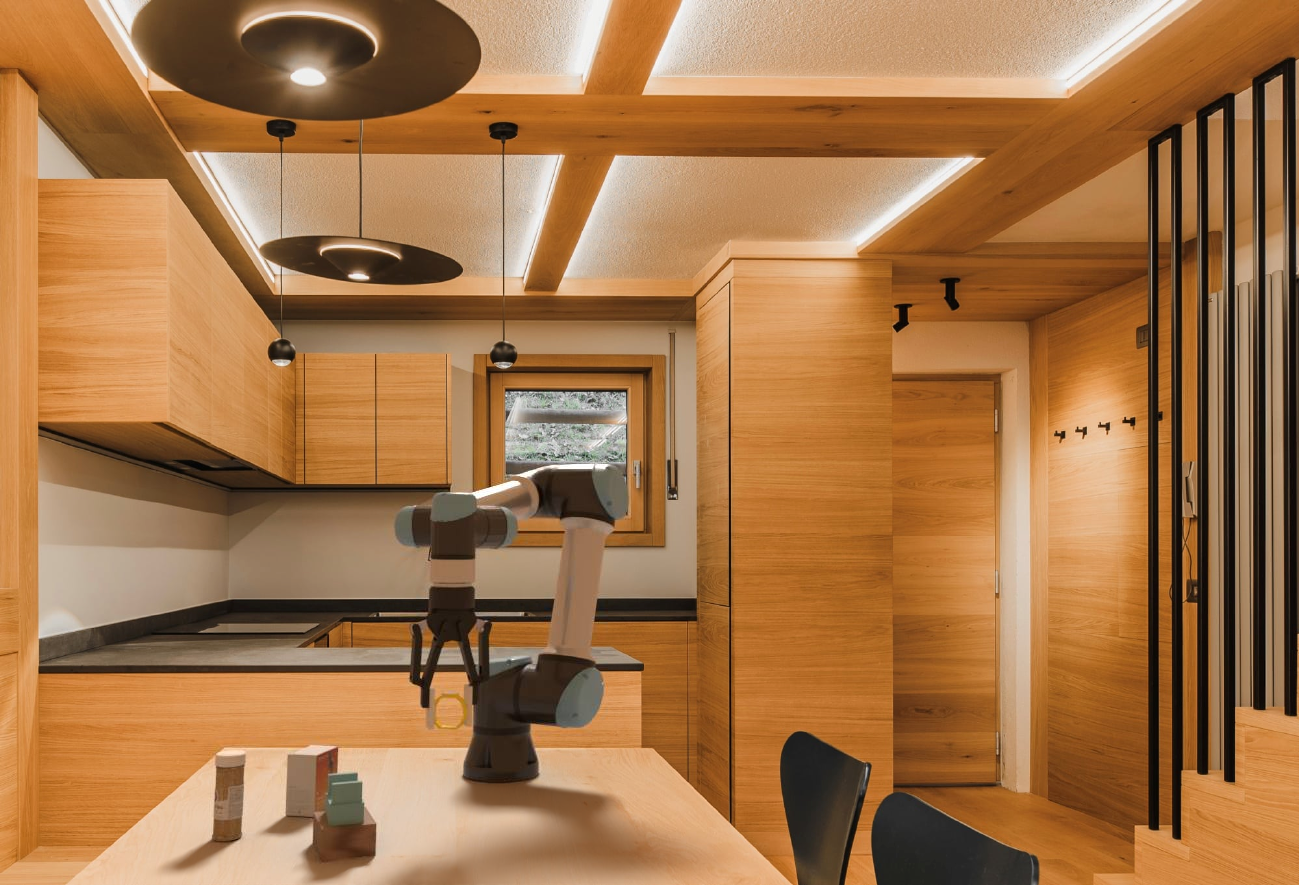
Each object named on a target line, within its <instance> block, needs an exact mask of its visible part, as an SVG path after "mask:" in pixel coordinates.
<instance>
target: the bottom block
mask: <svg viewBox="0 0 1299 885" xmlns="http://www.w3.org/2000/svg"><path fill="white" fill-rule="evenodd" d="M312 818H313V820H312V821H313V822H312V823H313V824H312V846H313V849H314V850H315V853H316V855H317V857H318V859H319V862H320V863H327V862H328V863H329V862H336V861H342V860H350V859H360V858H366V857H367V858H368V857H374V856H375V857H376V855H377V854H376V853H377V852H376V851H377V822H376V820H375V819H374V817H373V816H372V814H371V813H370V811H369V810H368V808H367V807H366V806H364V823H357V824H348V825H338V826H329V823H328V820H327V817H326V814H325V811H321V812H314V817H312Z"/></svg>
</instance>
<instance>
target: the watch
mask: <svg viewBox="0 0 1299 885" xmlns="http://www.w3.org/2000/svg"><path fill="white" fill-rule="evenodd" d="M443 698H445V699H456V701H459V703H460V705H461V707H462V718H461V720H460V723H459V724H457V725H444V724H442V723H441V721H439V719H438V716H437V705H438V704H439V702H440V701H441V699H443ZM467 715H468V710H467V704H466V702H465V700H464V697H462V696H461V695H460V692H458V691H453V690H451V691H450V690H447V691H442V692H441V695H439V696H438V697H437V698H435V711H434V726H436V728H438V729H440V730H458V729H459V728H461V727H462V726H464V723H465V721H466V719H467Z"/></svg>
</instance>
